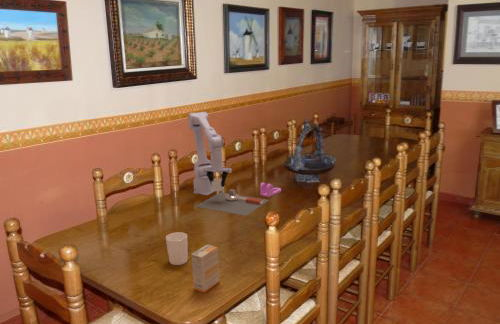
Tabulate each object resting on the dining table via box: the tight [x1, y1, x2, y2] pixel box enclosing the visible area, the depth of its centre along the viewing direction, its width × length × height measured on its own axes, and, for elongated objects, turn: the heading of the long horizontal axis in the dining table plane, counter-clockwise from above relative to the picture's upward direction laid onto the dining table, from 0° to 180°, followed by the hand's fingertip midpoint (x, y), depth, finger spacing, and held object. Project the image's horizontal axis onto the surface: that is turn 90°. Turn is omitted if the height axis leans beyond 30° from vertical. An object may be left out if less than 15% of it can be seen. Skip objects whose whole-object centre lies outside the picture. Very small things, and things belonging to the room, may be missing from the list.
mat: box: [194, 191, 270, 216], centre depth 228 cm, size 30×24×1 cm
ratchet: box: [226, 188, 264, 206], centre depth 229 cm, size 21×7×5 cm, turn 60°
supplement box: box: [190, 244, 220, 293], centre depth 149 cm, size 8×5×13 cm, turn 145°
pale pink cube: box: [211, 177, 225, 192], centre depth 227 cm, size 5×5×5 cm
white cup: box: [165, 231, 189, 266], centre depth 168 cm, size 8×8×10 cm
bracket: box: [259, 182, 282, 198], centre depth 241 cm, size 13×6×7 cm, turn 141°
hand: (217, 186), depth 228 cm, fingers closed on pale pink cube, 5 cm apart
